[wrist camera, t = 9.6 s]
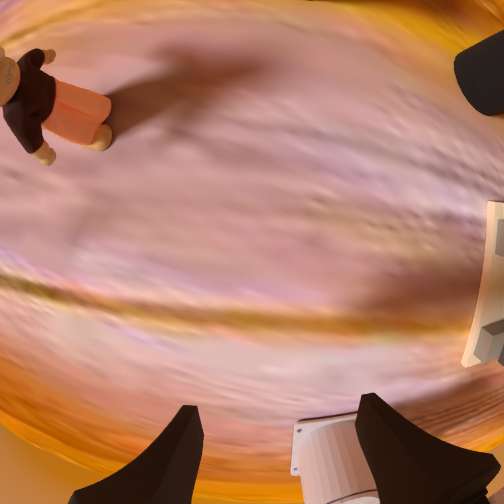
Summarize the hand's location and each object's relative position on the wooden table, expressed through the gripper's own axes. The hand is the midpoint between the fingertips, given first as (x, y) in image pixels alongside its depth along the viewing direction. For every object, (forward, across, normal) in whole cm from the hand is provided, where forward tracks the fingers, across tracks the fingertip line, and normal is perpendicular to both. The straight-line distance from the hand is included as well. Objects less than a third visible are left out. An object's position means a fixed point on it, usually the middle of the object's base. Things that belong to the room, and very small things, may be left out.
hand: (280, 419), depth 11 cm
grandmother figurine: (+10, +12, -16) cm, 22 cm away
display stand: (+9, -24, -1) cm, 26 cm away
